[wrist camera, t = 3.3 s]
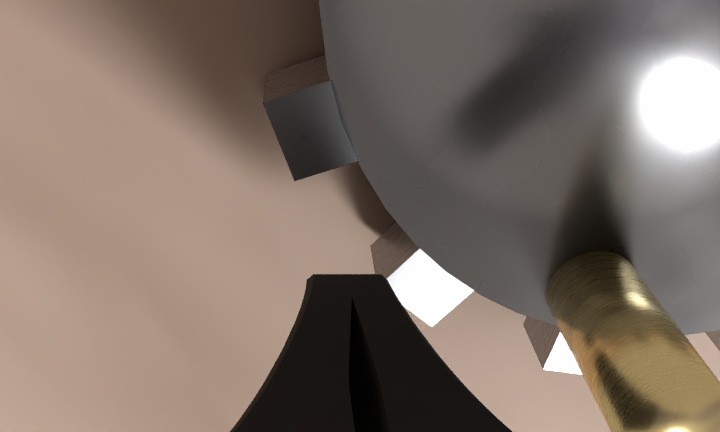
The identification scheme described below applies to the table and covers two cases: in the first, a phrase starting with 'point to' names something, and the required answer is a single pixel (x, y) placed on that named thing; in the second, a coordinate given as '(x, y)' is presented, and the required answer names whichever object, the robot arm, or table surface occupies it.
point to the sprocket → (537, 175)
